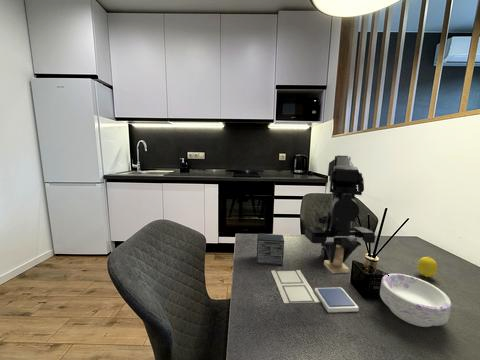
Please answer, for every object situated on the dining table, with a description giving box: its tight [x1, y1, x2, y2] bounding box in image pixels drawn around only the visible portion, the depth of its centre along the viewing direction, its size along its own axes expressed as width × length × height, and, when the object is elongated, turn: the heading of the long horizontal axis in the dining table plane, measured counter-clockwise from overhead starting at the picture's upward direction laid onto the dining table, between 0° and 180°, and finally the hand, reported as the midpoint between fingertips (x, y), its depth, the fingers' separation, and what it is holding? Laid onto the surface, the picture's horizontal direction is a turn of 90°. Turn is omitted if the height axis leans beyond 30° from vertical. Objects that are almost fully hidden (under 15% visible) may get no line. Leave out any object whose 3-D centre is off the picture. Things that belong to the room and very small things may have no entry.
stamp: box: [323, 245, 350, 275], centre depth 64 cm, size 5×5×7 cm
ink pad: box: [314, 286, 360, 313], centre depth 66 cm, size 9×9×2 cm
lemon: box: [417, 256, 438, 278], centre depth 80 cm, size 6×6×8 cm
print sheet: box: [270, 269, 321, 305], centre depth 73 cm, size 11×17×1 cm, turn 5°
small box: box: [255, 233, 285, 267], centre depth 87 cm, size 11×6×10 cm, turn 84°
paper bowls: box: [379, 273, 453, 328], centre depth 61 cm, size 15×15×8 cm
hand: (336, 262), depth 64 cm, fingers closed on stamp, 3 cm apart
